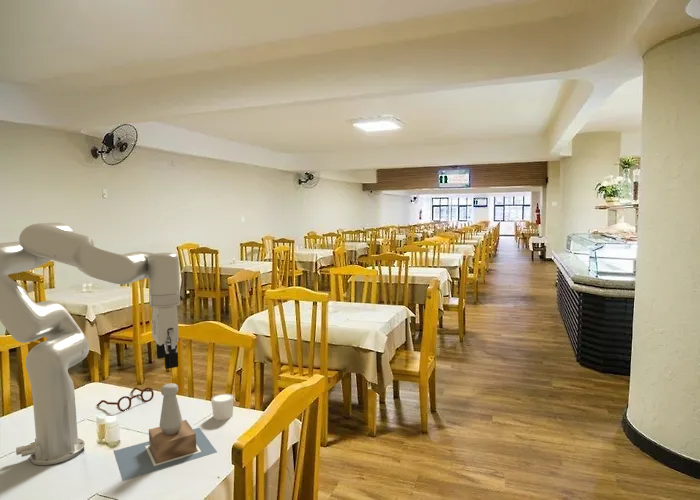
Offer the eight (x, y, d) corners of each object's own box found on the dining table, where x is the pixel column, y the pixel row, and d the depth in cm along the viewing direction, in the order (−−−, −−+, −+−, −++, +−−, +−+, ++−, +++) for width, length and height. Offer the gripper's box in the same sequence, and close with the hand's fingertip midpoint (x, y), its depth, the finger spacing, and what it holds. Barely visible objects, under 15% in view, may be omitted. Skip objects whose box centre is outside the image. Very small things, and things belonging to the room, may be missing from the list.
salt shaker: (167, 438, 121) (165, 391, 120) (155, 432, 125) (153, 386, 124) (187, 430, 126) (185, 384, 125) (175, 424, 129) (173, 379, 128)
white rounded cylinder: (238, 418, 146) (238, 397, 145) (219, 426, 141) (218, 404, 140) (226, 412, 151) (226, 391, 150) (207, 419, 146) (206, 398, 145)
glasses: (119, 414, 151) (118, 399, 151) (96, 406, 158) (95, 392, 157) (154, 400, 162) (153, 386, 162) (132, 392, 169) (131, 379, 169)
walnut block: (157, 463, 119) (156, 444, 118) (149, 446, 127) (148, 429, 127) (196, 451, 124) (195, 433, 124) (186, 436, 133) (186, 419, 132)
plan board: (123, 484, 111) (122, 480, 111) (113, 454, 125) (113, 450, 125) (217, 455, 124) (217, 451, 124) (199, 430, 138) (199, 427, 138)
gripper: (143, 296, 127) (146, 356, 129) (156, 307, 113) (159, 375, 114) (172, 293, 131) (174, 351, 133) (188, 303, 117) (190, 369, 118)
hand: (167, 362), depth 124 cm, fingers open, 9 cm apart
